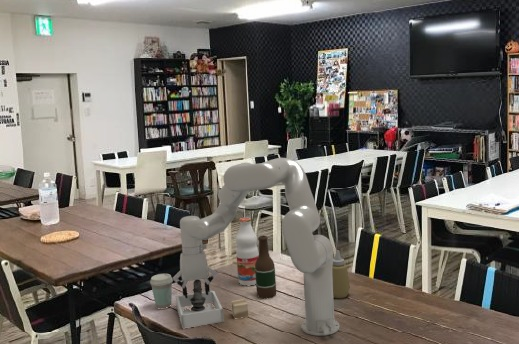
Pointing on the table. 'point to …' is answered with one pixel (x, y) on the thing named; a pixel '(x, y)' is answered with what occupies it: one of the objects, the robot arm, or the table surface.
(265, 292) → the beer bottle
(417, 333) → the table surface
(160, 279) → the coffee cup
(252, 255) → the fruit juice
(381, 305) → the table surface
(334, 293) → the squeeze bottle
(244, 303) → the beech cube
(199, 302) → the chess piece
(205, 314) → the tote
